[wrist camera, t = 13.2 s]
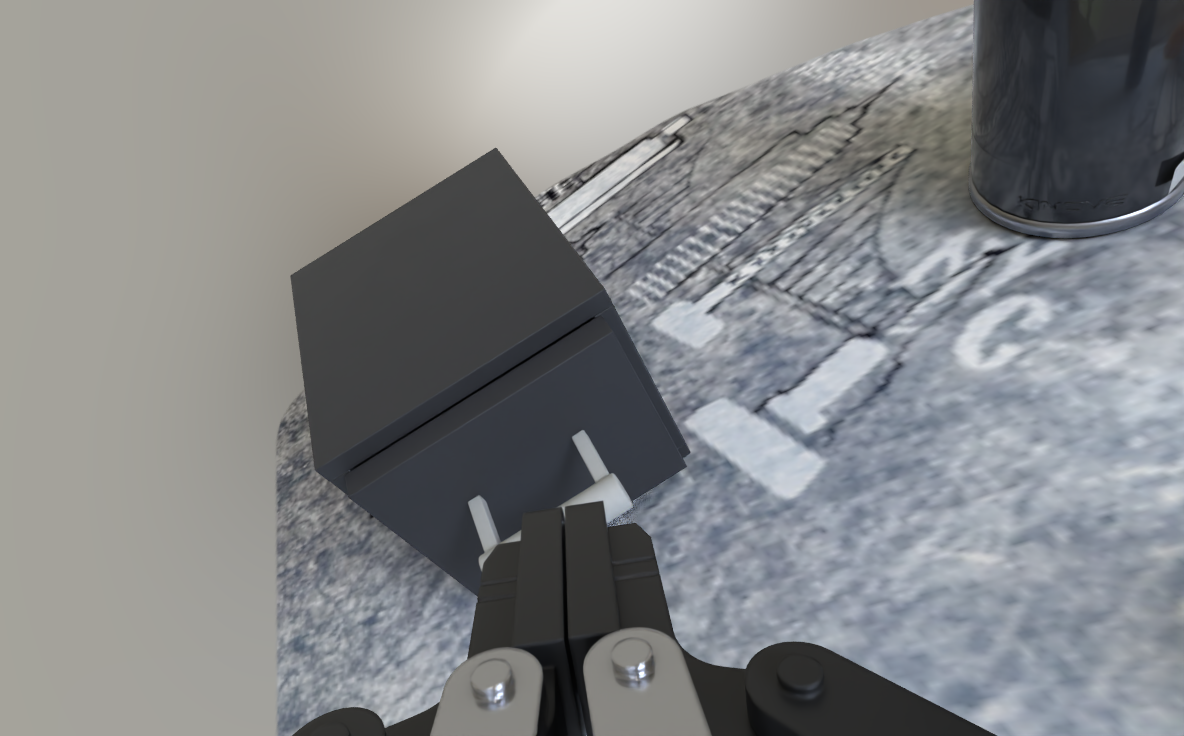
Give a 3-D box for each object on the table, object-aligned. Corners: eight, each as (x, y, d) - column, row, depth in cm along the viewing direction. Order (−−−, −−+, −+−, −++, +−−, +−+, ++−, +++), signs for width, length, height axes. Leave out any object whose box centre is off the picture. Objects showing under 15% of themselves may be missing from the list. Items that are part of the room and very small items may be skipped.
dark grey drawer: (733, 533, 29) (663, 400, 23) (504, 678, 29) (363, 589, 22) (581, 313, 42) (507, 185, 35) (421, 413, 42) (315, 305, 35)
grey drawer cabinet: (691, 453, 34) (604, 288, 26) (471, 591, 34) (314, 470, 26) (581, 298, 45) (495, 146, 36) (414, 403, 44) (290, 275, 36)
